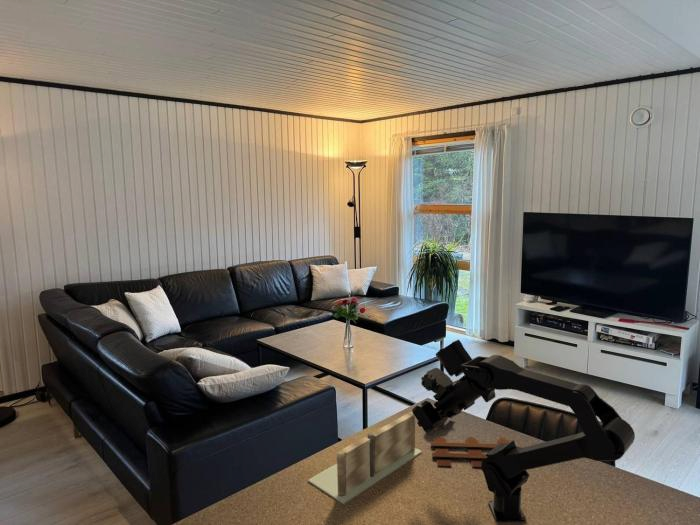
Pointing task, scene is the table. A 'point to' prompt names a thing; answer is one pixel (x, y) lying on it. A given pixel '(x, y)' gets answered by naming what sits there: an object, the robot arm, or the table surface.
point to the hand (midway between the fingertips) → (424, 421)
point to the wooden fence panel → (355, 464)
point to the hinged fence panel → (393, 441)
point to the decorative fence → (470, 445)
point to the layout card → (330, 484)
